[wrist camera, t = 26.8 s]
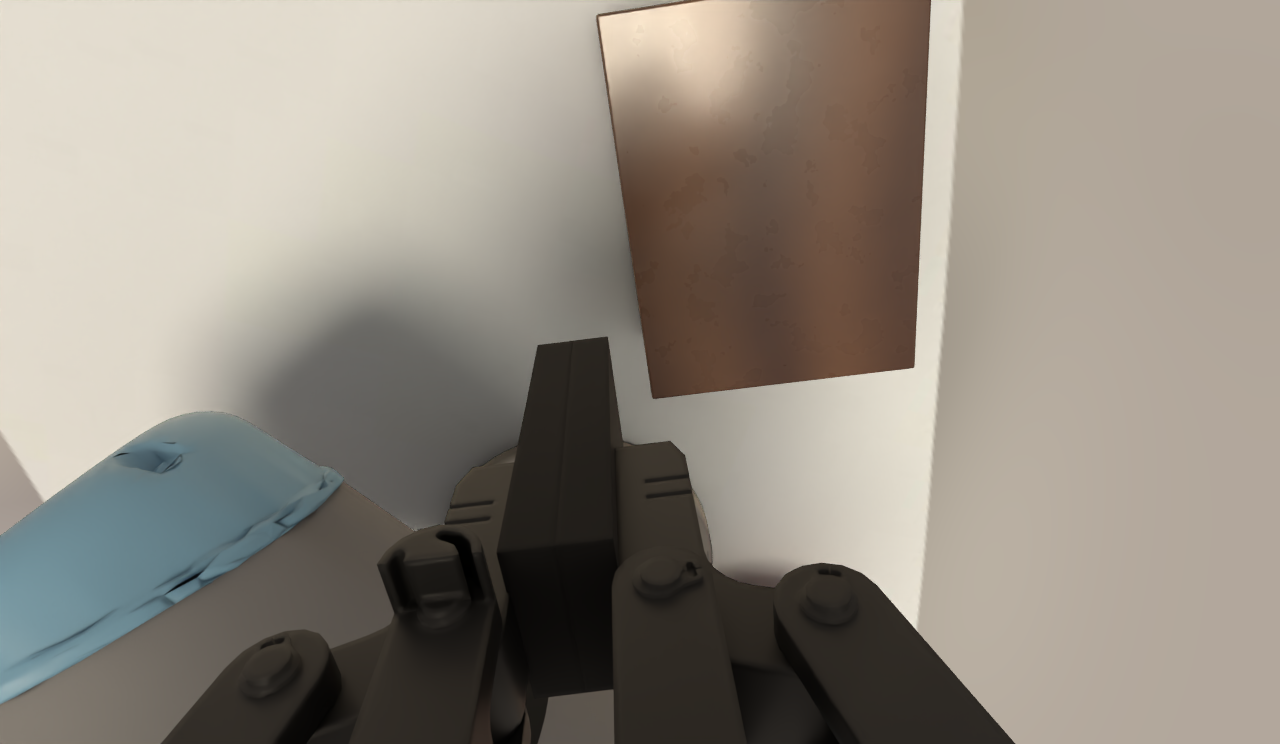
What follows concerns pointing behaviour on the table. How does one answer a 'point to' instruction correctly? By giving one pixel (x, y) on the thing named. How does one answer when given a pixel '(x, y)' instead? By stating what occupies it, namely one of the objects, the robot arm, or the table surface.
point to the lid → (770, 185)
